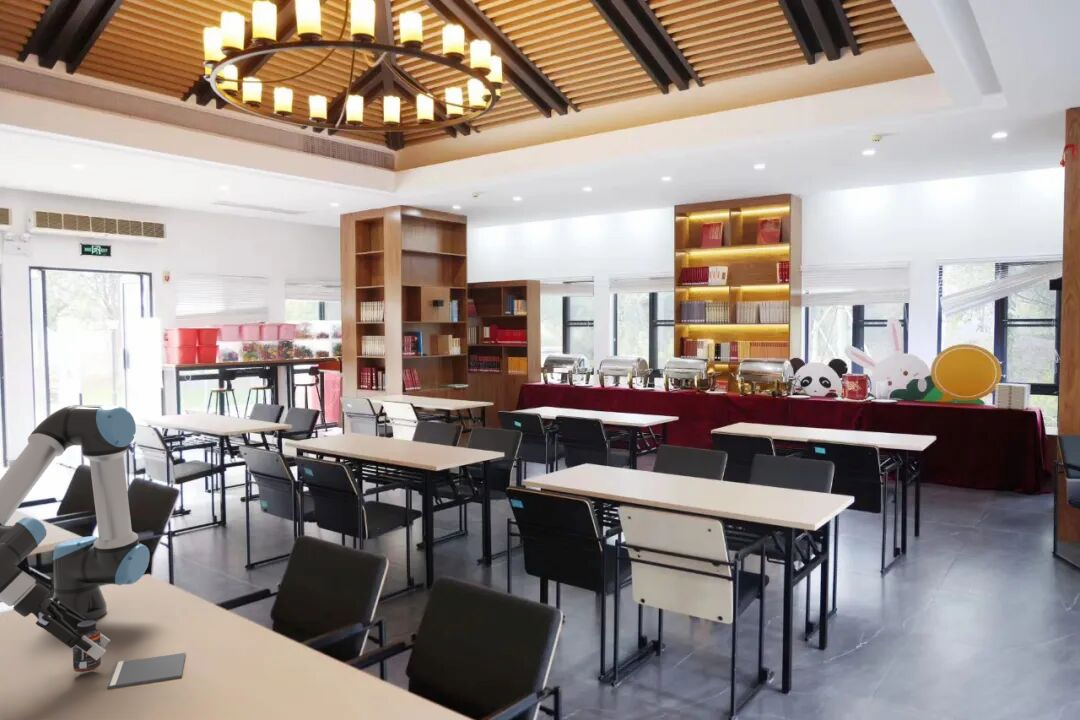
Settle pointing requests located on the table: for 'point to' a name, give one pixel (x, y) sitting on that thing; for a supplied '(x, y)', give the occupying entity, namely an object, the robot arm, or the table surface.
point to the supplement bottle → (80, 658)
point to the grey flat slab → (147, 670)
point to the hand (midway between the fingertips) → (103, 649)
